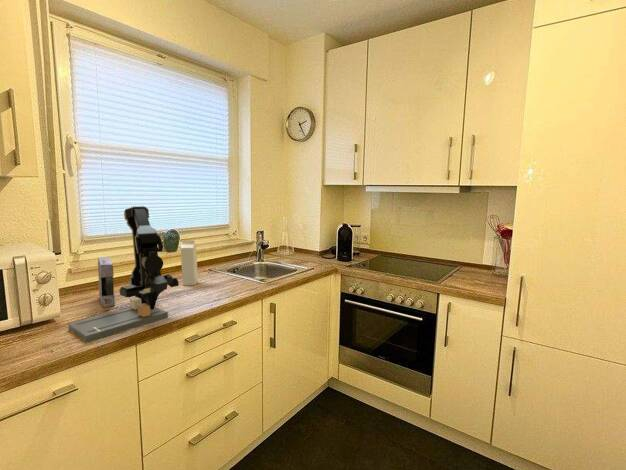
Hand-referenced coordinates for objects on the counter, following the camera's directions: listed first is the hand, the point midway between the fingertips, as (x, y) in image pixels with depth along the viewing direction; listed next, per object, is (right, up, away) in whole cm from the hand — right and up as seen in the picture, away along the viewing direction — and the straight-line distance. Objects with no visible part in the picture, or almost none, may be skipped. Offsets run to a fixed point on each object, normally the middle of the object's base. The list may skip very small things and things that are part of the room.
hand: (152, 309), depth 120 cm
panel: (-9, -4, -3) cm, 11 cm away
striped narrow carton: (-29, -1, +20) cm, 35 cm away
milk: (-4, +2, +48) cm, 48 cm away
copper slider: (-2, -1, -2) cm, 3 cm away
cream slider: (-9, -1, +5) cm, 10 cm away
